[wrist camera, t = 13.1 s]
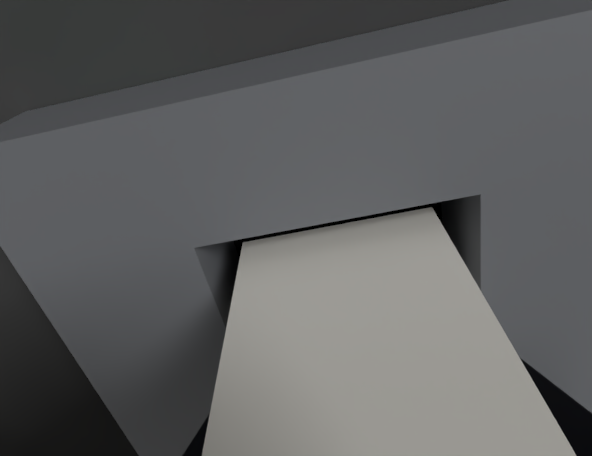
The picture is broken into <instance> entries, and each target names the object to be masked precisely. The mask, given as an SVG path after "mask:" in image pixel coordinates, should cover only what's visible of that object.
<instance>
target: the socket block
mask: <svg viewBox="0 0 592 456" xmlns="http://www.w3.org/2000/svg"><path fill="white" fill-rule="evenodd" d="M437 202H441V210H442V225H443V227H444V229H445V230H446V232H447V234H448V235H449V237H450V239H451V241H452V242H453V244H454V246H455V247H456V249H457V251H458V253H459V254H460V256H461V258H462V260H463V261H464V263H465V265H466V266H467V268H468V270H469V272H470V273H471V275H472V277H473V278H474V280H475V282H476V284H477V285H478V287H479V289H480V290H481V292H482V294H483V296H484V297H485V299H486V301H487V303H488V304H489V306H490V308H491V309H492V311H493V313H494V315H495V316H496V318H497V320H498V321H499V323H500V325H501V327H502V328H503V330H504V332H505V333H506V335H507V337H508V339H509V340H510V342H511V344H512V345H513V347H514V349H515V351H516V352H517V354H518V356H519V357H520V358H521V359H523V360H524V361H525V362H526V363H528V364H529V365H530V366H532V367H533V368H534V369H535V370H537V371H538V372H539V373H541V374H542V375H543V376H545V377H546V378H547V379H548V380H550V381H551V382H552V383H554V384H555V385H556V386H557V387H559V388H560V389H561V390H563V391H564V392H565V393H566V394H568V395H569V396H570V397H572V398H573V399H574V400H575V401H577V402H578V403H579V404H581V405H582V406H583V407H585V408H586V409H587V410H588V411H590V412H591V413H592V0H508V1H504V2H500V3H495V4H491V5H487V6H482V7H478V8H474V9H469V10H465V11H461V12H456V13H452V14H447V15H443V16H439V17H434V18H430V19H426V20H421V21H417V22H413V23H408V24H404V25H400V26H395V27H391V28H387V29H382V30H378V31H374V32H369V33H365V34H360V35H356V36H352V37H347V38H343V39H339V40H334V41H330V42H326V43H321V44H317V45H313V46H308V47H304V48H300V49H295V50H291V51H287V52H282V53H278V54H273V55H269V56H265V57H260V58H256V59H252V60H247V61H243V62H239V63H234V64H230V65H226V66H221V67H217V68H213V69H208V70H204V71H200V72H195V73H191V74H186V75H182V76H178V77H173V78H169V79H165V80H160V81H156V82H152V83H147V84H143V85H139V86H134V87H130V88H126V89H121V90H117V91H113V92H108V93H104V94H100V95H95V96H91V97H86V98H82V99H78V100H73V101H69V102H65V103H60V104H56V105H52V106H47V107H43V108H39V109H34V110H30V111H26V112H23V113H21V114H19V115H17V116H15V117H14V118H12V119H10V120H8V121H6V122H4V123H2V124H0V246H1V248H2V249H3V251H4V252H5V254H6V255H7V257H8V258H9V260H10V261H11V263H12V264H13V266H14V267H15V269H16V270H17V272H18V273H19V275H20V276H21V278H22V280H23V281H24V283H25V284H26V286H27V287H28V289H29V290H30V292H31V293H32V295H33V296H34V298H35V299H36V301H37V302H38V304H39V305H40V307H41V308H42V310H43V311H44V313H45V314H46V316H47V317H48V319H49V320H50V322H51V323H52V325H53V326H54V328H55V329H56V331H57V333H58V334H59V336H60V337H61V339H62V340H63V342H64V343H65V345H66V346H67V348H68V349H69V351H70V352H71V354H72V355H73V357H74V358H75V360H76V361H77V363H78V364H79V366H80V367H81V369H82V370H83V372H84V373H85V375H86V376H87V378H88V379H89V381H90V383H91V384H92V386H93V387H94V389H95V390H96V392H97V393H98V395H99V396H100V398H101V399H102V401H103V402H104V404H105V405H106V407H107V408H108V410H109V411H110V413H111V414H112V416H113V417H114V419H115V420H116V422H117V423H118V425H119V426H120V428H121V429H122V431H123V432H124V434H125V436H126V437H127V439H128V440H129V442H130V443H131V445H132V446H133V448H134V449H135V451H136V452H137V454H138V455H139V456H182V455H183V454H184V452H185V450H186V449H187V447H188V446H189V444H190V443H191V441H192V440H193V438H194V436H195V435H196V433H197V432H198V430H199V429H200V427H201V425H202V424H203V422H204V421H205V419H206V418H207V416H208V415H209V413H210V410H211V405H212V400H213V394H214V389H215V384H216V379H217V374H218V368H219V363H220V358H221V353H222V348H223V342H224V337H225V332H226V327H227V322H228V316H229V311H230V306H231V301H232V296H233V290H234V285H235V280H236V275H237V270H238V264H239V256H238V253H237V250H236V247H235V244H234V240H239V239H245V238H250V237H255V236H261V235H266V234H271V233H277V232H282V231H287V230H293V229H298V228H303V227H309V226H314V225H319V224H325V223H330V222H335V221H341V220H346V219H352V218H357V217H362V216H368V215H373V214H378V213H384V212H389V211H394V210H400V209H405V208H410V207H416V206H421V205H426V204H432V203H437Z"/></svg>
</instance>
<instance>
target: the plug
mask: <svg viewBox="0 0 592 456" xmlns="http://www.w3.org/2000/svg"><path fill="white" fill-rule="evenodd" d="M202 456H576V454H575V452H574V450H573V449H572V447H571V445H570V444H569V442H568V440H567V438H566V437H565V435H564V433H563V431H562V430H561V428H560V426H559V425H558V423H557V421H556V419H555V418H554V416H553V414H552V413H551V411H550V409H549V407H548V406H547V404H546V402H545V401H544V399H543V397H542V395H541V394H540V392H539V390H538V388H537V387H536V385H535V383H534V382H533V380H532V378H531V376H530V375H529V373H528V371H527V370H526V368H525V366H524V364H523V363H522V361H521V359H520V358H519V356H518V354H517V352H516V351H515V349H514V347H513V345H512V344H511V342H510V340H509V339H508V337H507V335H506V333H505V332H504V330H503V328H502V327H501V325H500V323H499V321H498V320H497V318H496V316H495V315H494V313H493V311H492V309H491V308H490V306H489V304H488V303H487V301H486V299H485V297H484V296H483V294H482V292H481V290H480V289H479V287H478V285H477V284H476V282H475V280H474V278H473V277H472V275H471V273H470V272H469V270H468V268H467V266H466V265H465V263H464V261H463V260H462V258H461V256H460V254H459V253H458V251H457V249H456V247H455V246H454V244H453V242H452V241H451V239H450V237H449V235H448V234H447V232H446V230H445V229H444V227H443V225H442V223H441V222H440V220H439V218H438V217H437V215H436V213H435V211H434V210H433V208H432V207H429V208H424V209H419V210H413V211H408V212H403V213H397V214H392V215H387V216H381V217H376V218H371V219H365V220H360V221H355V222H349V223H344V224H338V225H333V226H328V227H322V228H317V229H312V230H306V231H301V232H296V233H290V234H285V235H280V236H274V237H269V238H264V239H258V240H253V241H248V242H243V244H242V249H241V254H240V259H239V264H238V270H237V275H236V280H235V285H234V290H233V296H232V301H231V306H230V311H229V316H228V322H227V327H226V332H225V337H224V342H223V348H222V353H221V358H220V363H219V368H218V374H217V379H216V384H215V389H214V394H213V400H212V405H211V410H210V415H209V420H208V425H207V431H206V436H205V441H204V446H203V451H202Z"/></svg>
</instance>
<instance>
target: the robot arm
mask: <svg viewBox="0 0 592 456" xmlns="http://www.w3.org/2000/svg"><path fill="white" fill-rule="evenodd" d="M519 358H520V357H519ZM520 359H521V358H520ZM521 361H522V363H523V364H524V366H525V368H526V370H527V371H528V373H529V375H530V376H531V378H532V380H533V382H534V383H535V385H536V387H537V388H538V390H539V392H540V394H541V395H542V397H543V399H544V401H545V402H546V404H547V406H548V407H549V409H550V411H551V413H552V414H553V416H554V418H555V419H556V421H557V423H558V425H559V426H560V428H561V430H562V431H563V433H564V435H565V437H566V438H567V440H568V442H569V444H570V445H571V447H572V449H573V450H574V452H575V454H576V456H592V413H591V412H590V411H588V410H587V409H586V408H585V407H583V406H582V405H581V404H579V403H578V402H577V401H575V400H574V399H573V398H572V397H570V396H569V395H568V394H566V393H565V392H564V391H563V390H561V389H560V388H559V387H557V386H556V385H555V384H554V383H552V382H551V381H550V380H548V379H547V378H546V377H545V376H543V375H542V374H541V373H539V372H538V371H537V370H535V369H534V368H533V367H532V366H530V365H529V364H528V363H526V362H525V361H524V360H523V359H521ZM209 415H210V413H209ZM209 415H208V416H207V418H206V419H205V421H204V422H203V424H202V425H201V427H200V429H199V430H198V432H197V433H196V435H195V436H194V438H193V440H192V441H191V443H190V444H189V446H188V447H187V449H186V450H185V452H184V454H183V455H182V456H202V451H203V446H204V441H205V436H206V431H207V425H208V420H209Z"/></svg>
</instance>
